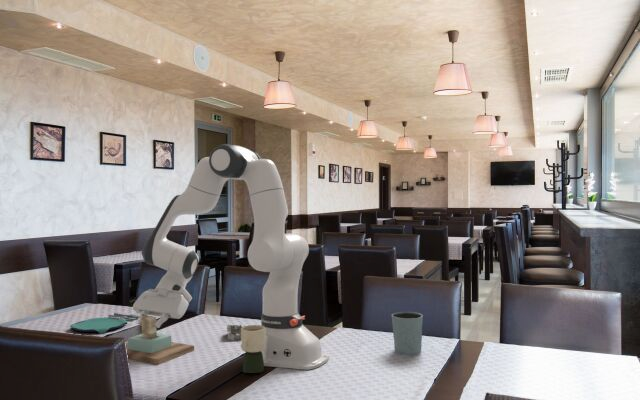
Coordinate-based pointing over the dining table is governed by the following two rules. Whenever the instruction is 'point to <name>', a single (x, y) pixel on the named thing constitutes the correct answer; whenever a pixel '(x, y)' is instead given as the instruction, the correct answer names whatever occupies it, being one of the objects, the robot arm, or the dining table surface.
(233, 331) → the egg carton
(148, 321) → the beige tall block
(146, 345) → the end cap
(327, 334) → the dining table surface
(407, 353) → the grey green cup
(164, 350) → the walnut board
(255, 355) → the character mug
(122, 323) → the teal flat piece
